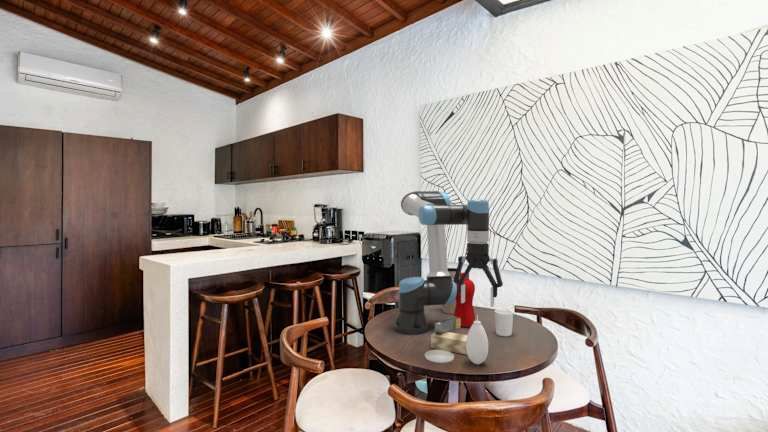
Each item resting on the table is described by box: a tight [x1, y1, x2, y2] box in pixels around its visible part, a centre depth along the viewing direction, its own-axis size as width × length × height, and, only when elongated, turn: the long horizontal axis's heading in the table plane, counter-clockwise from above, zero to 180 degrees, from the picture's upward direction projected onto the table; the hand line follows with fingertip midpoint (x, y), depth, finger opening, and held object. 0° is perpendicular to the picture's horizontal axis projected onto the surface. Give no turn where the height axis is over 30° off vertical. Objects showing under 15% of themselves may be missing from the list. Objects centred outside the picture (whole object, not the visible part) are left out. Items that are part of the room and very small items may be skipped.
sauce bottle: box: [466, 314, 489, 365], centre depth 134 cm, size 8×8×18 cm
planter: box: [441, 267, 460, 315], centre depth 198 cm, size 10×10×23 cm
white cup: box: [494, 308, 514, 337], centre depth 165 cm, size 8×8×10 cm
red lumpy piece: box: [453, 271, 476, 328], centre depth 178 cm, size 9×11×25 cm
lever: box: [434, 315, 462, 334], centre depth 154 cm, size 14×4×4 cm, turn 131°
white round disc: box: [424, 349, 455, 364], centre depth 140 cm, size 11×11×1 cm
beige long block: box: [430, 331, 468, 356], centre depth 147 cm, size 20×7×8 cm, turn 62°
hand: (477, 304), depth 134 cm, fingers open, 10 cm apart
